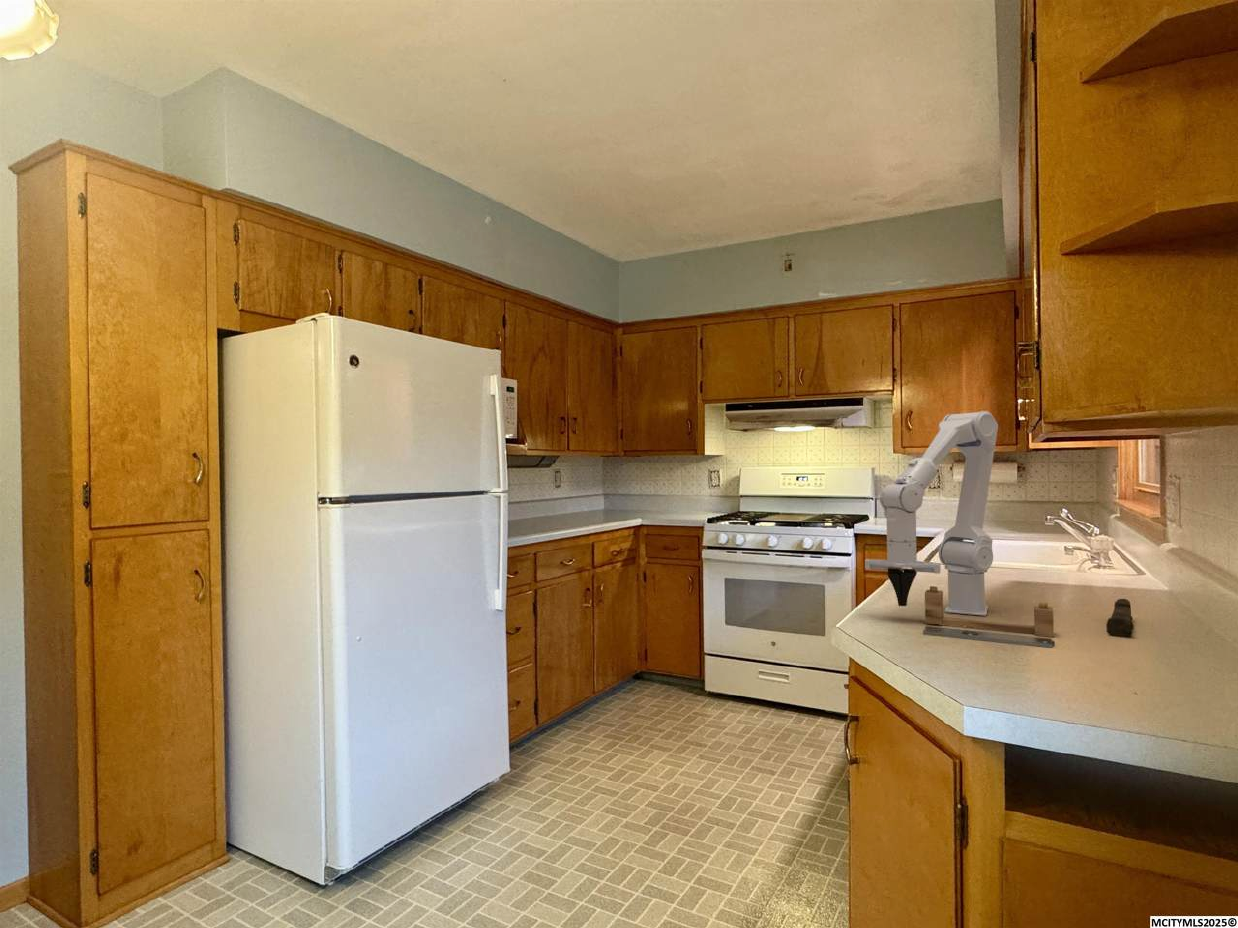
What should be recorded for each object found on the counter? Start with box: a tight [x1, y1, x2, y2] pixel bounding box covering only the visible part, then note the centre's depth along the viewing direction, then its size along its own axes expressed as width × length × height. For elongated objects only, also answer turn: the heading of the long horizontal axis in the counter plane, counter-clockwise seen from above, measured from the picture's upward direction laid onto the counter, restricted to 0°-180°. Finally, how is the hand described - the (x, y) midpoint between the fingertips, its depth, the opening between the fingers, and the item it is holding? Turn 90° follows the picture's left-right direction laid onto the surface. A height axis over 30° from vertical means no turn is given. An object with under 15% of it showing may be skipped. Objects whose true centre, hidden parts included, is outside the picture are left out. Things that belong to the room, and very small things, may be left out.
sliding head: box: [924, 585, 944, 626], centre depth 136 cm, size 4×3×7 cm
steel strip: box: [922, 625, 1056, 649], centre depth 124 cm, size 4×21×1 cm, turn 59°
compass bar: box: [942, 601, 1055, 638], centre depth 131 cm, size 4×22×6 cm, turn 59°
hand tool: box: [1106, 598, 1135, 639], centre depth 130 cm, size 19×4×5 cm, turn 138°
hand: (902, 605), depth 139 cm, fingers closed
